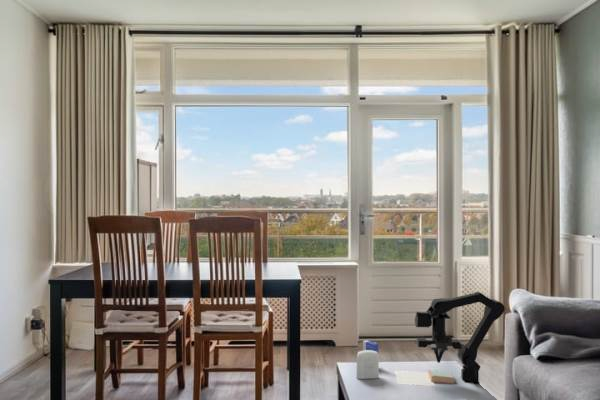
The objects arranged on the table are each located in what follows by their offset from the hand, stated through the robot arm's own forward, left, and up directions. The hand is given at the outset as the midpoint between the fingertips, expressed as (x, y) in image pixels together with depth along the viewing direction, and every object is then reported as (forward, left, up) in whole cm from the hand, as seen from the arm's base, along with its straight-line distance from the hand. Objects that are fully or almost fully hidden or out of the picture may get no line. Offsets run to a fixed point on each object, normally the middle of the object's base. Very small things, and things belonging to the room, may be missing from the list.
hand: (438, 362), depth 200 cm
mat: (+11, 0, -8) cm, 13 cm away
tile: (+4, 0, -6) cm, 7 cm away
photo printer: (+32, +1, -8) cm, 33 cm away
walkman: (+30, -14, -8) cm, 34 cm away
